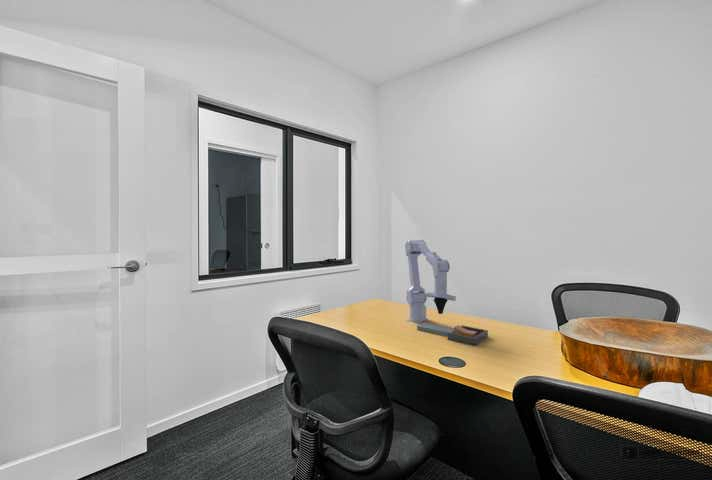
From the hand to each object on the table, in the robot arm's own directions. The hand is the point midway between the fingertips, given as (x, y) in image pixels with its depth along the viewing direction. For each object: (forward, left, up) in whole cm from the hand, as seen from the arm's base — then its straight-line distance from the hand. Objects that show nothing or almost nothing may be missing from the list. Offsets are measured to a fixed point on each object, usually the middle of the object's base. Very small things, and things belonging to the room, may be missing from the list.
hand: (440, 313), depth 158 cm
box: (0, +13, -9) cm, 16 cm away
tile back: (-1, +9, -8) cm, 12 cm away
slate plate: (0, -2, -9) cm, 9 cm away
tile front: (-1, +14, -9) cm, 17 cm away
